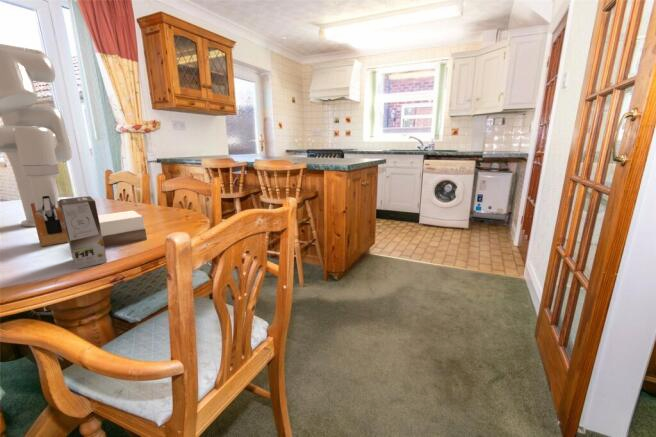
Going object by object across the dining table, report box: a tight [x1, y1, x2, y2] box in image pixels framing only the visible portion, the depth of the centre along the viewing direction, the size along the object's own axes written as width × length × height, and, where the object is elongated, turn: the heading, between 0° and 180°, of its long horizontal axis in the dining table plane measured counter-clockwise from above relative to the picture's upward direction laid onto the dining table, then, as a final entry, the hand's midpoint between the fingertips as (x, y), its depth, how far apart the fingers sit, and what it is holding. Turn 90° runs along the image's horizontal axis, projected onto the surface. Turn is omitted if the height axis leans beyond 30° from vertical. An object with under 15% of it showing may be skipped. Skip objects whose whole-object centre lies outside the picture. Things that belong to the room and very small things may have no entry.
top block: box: [98, 210, 145, 236], centre depth 91 cm, size 11×11×4 cm
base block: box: [102, 227, 148, 248], centre depth 93 cm, size 12×12×4 cm
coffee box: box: [59, 195, 108, 270], centre depth 74 cm, size 9×6×16 cm
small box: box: [30, 196, 69, 247], centre depth 89 cm, size 8×6×13 cm
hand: (55, 229), depth 89 cm, fingers closed on small box, 6 cm apart
